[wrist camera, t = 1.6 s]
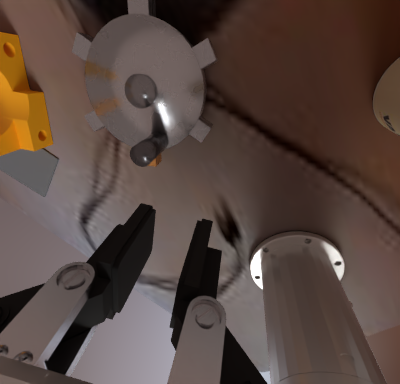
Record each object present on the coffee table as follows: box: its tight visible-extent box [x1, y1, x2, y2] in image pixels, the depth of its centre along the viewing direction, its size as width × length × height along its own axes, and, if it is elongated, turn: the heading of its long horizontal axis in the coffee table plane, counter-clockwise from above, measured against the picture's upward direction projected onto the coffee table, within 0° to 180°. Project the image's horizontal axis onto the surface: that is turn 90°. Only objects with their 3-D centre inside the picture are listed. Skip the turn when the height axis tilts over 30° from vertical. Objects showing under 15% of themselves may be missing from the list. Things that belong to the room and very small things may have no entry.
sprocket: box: [72, 0, 218, 167], centre depth 20 cm, size 15×14×7 cm
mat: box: [0, 148, 59, 197], centre depth 32 cm, size 12×8×1 cm, turn 55°
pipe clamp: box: [0, 32, 53, 156], centre depth 24 cm, size 12×4×6 cm, turn 172°
